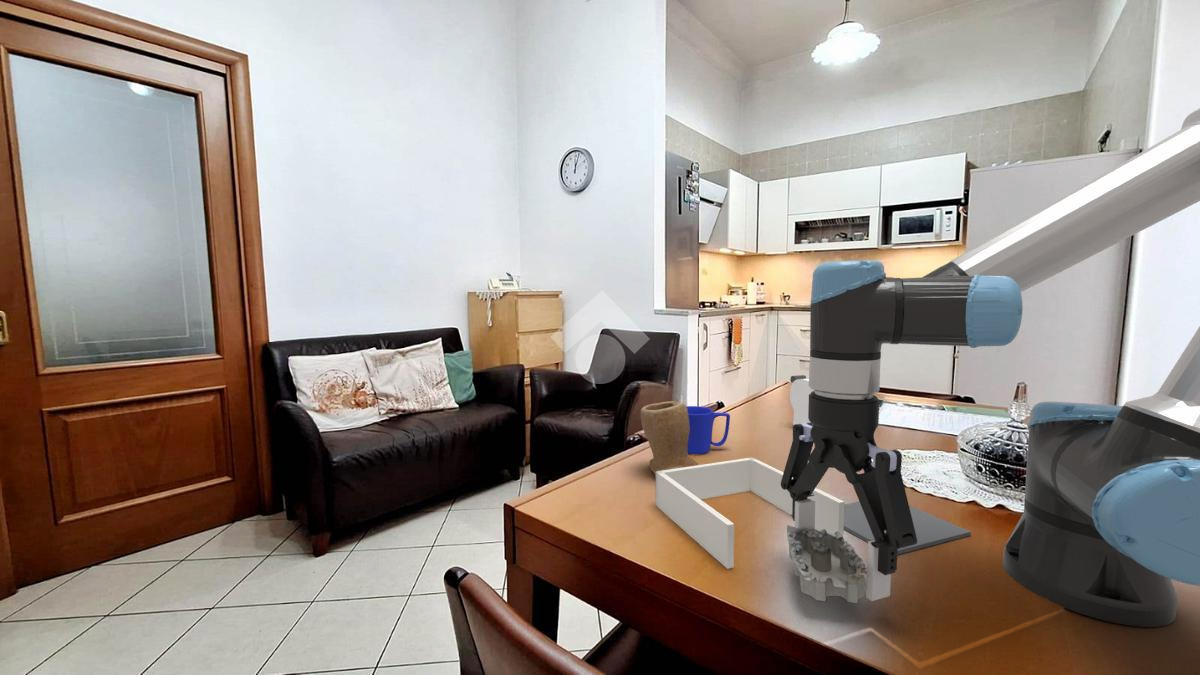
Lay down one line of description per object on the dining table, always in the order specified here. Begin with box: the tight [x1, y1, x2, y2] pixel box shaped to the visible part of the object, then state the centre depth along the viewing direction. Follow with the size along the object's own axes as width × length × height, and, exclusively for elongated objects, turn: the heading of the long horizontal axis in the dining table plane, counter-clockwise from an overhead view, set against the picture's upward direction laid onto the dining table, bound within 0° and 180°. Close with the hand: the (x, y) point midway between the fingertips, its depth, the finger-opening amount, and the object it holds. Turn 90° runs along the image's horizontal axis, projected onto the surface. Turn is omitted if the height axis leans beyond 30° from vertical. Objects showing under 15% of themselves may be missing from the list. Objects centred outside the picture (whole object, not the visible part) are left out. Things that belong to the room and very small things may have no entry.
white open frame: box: [654, 456, 845, 570], centre depth 77 cm, size 21×20×6 cm
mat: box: [844, 501, 972, 556], centre depth 76 cm, size 14×16×1 cm
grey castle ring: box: [786, 524, 867, 604], centre depth 58 cm, size 11×8×4 cm
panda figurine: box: [789, 374, 814, 427], centre depth 123 cm, size 12×11×15 cm
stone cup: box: [640, 400, 700, 476], centre depth 96 cm, size 15×12×15 cm
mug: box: [686, 405, 731, 455], centre depth 111 cm, size 8×12×10 cm
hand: (837, 570), depth 59 cm, fingers closed on grey castle ring, 10 cm apart
